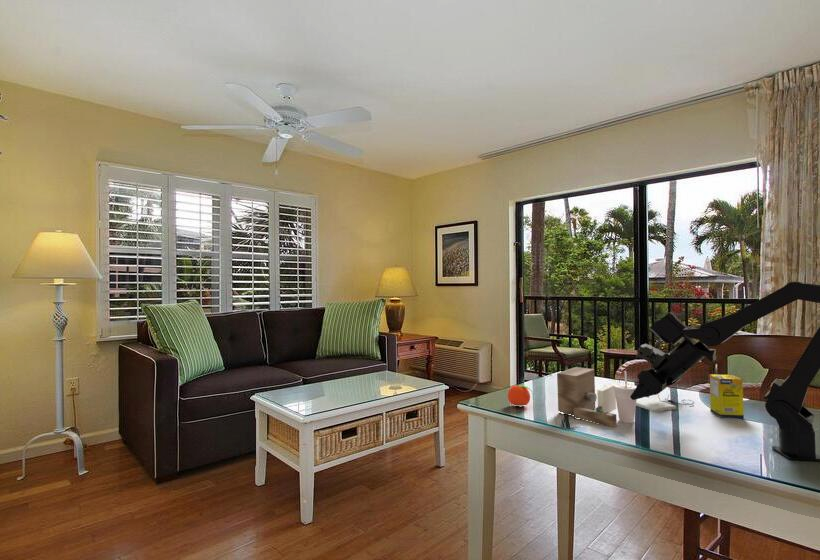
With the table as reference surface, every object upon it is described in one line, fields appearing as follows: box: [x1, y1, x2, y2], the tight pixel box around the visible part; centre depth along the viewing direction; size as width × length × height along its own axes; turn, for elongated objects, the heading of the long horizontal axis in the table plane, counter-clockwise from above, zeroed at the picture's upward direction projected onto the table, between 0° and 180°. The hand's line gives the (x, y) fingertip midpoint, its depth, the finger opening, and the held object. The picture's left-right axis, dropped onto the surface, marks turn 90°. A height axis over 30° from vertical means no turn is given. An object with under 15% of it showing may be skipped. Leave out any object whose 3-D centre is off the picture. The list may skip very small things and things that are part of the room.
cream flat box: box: [595, 383, 617, 413], centre depth 123 cm, size 2×11×7 cm, turn 134°
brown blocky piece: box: [556, 366, 618, 428], centre depth 126 cm, size 16×14×12 cm
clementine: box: [507, 384, 534, 406], centre depth 136 cm, size 8×7×7 cm
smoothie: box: [612, 370, 638, 424], centre depth 120 cm, size 6×6×14 cm
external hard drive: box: [636, 396, 678, 413], centre depth 134 cm, size 2×8×12 cm
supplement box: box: [709, 373, 745, 419], centre depth 123 cm, size 6×6×11 cm
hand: (637, 394), depth 118 cm, fingers open, 9 cm apart
